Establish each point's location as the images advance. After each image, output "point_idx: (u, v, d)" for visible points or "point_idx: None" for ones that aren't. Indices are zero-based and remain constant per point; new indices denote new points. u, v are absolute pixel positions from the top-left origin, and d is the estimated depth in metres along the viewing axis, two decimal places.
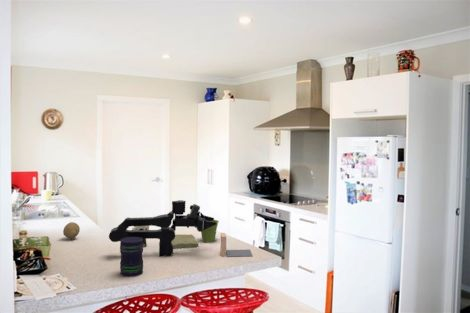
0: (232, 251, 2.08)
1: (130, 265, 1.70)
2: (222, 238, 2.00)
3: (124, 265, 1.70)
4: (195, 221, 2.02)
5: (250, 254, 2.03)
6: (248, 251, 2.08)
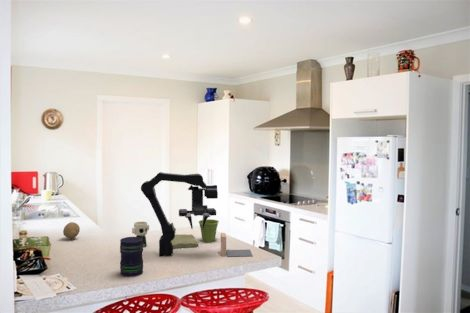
0: (232, 251, 2.08)
1: (130, 265, 1.70)
2: (222, 238, 2.00)
3: (124, 265, 1.70)
4: None
5: (250, 254, 2.03)
6: (248, 251, 2.08)
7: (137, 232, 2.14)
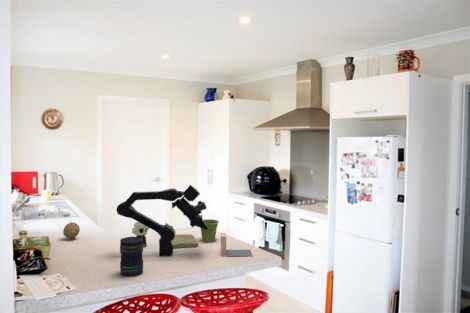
0: (232, 251, 2.08)
1: (130, 265, 1.70)
2: (222, 238, 2.00)
3: (124, 265, 1.70)
4: (193, 215, 2.00)
5: (250, 254, 2.03)
6: (248, 251, 2.08)
7: (137, 232, 2.14)
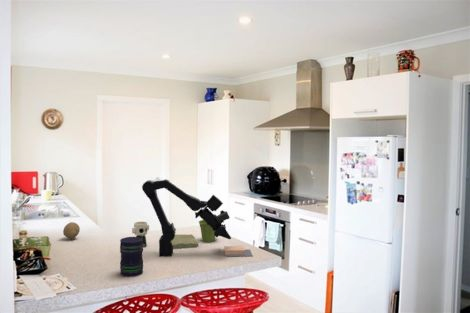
0: None
1: (130, 265, 1.70)
2: (243, 251, 2.02)
3: (124, 265, 1.70)
4: (217, 225, 2.01)
5: (250, 254, 2.03)
6: (248, 251, 2.08)
7: (137, 232, 2.14)
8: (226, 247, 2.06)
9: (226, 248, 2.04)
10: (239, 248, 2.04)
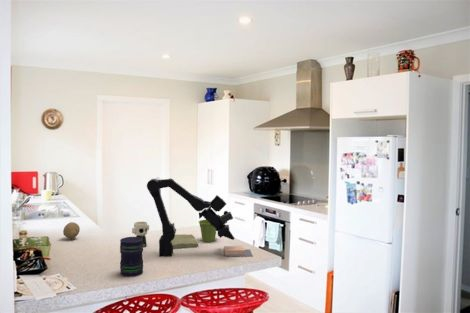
0: None
1: (130, 265, 1.70)
2: (243, 251, 2.02)
3: (124, 265, 1.70)
4: (220, 225, 2.01)
5: (250, 254, 2.03)
6: (248, 251, 2.08)
7: (137, 232, 2.14)
8: (226, 247, 2.06)
9: (226, 248, 2.04)
10: (239, 248, 2.04)
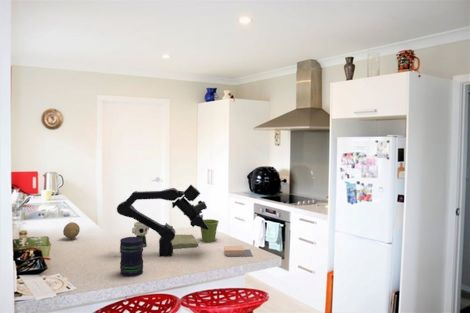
0: None
1: (130, 265, 1.70)
2: (243, 251, 2.02)
3: (124, 265, 1.70)
4: (194, 215, 2.00)
5: (250, 254, 2.03)
6: (248, 251, 2.08)
7: (137, 232, 2.14)
8: (226, 247, 2.06)
9: (226, 248, 2.04)
10: (239, 248, 2.04)
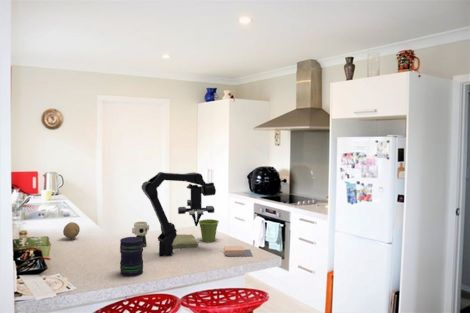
0: None
1: (130, 265, 1.70)
2: (243, 251, 2.02)
3: (124, 265, 1.70)
4: None
5: (250, 254, 2.03)
6: (248, 251, 2.08)
7: (137, 232, 2.14)
8: (226, 247, 2.06)
9: (226, 248, 2.04)
10: (239, 248, 2.04)
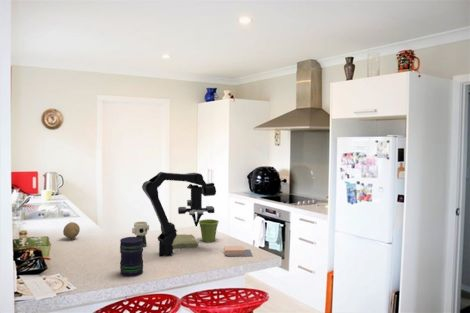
0: None
1: (130, 265, 1.70)
2: (243, 251, 2.02)
3: (124, 265, 1.70)
4: None
5: (250, 254, 2.03)
6: (248, 251, 2.08)
7: (137, 232, 2.14)
8: (226, 247, 2.06)
9: (226, 248, 2.04)
10: (239, 248, 2.04)
